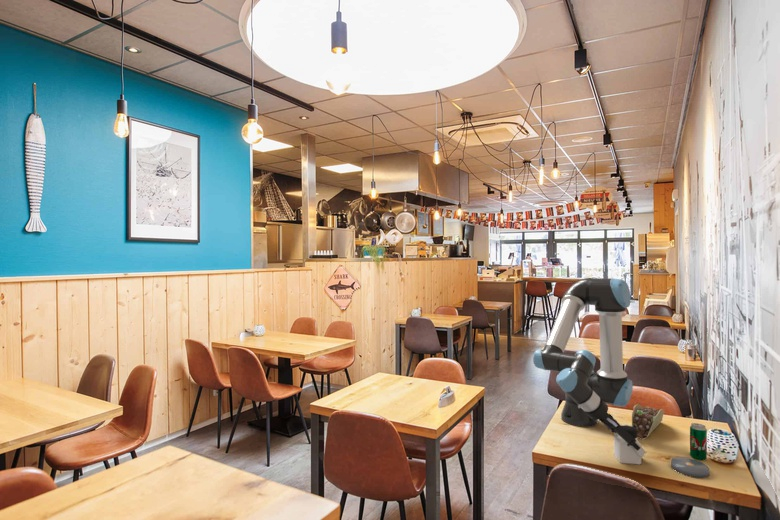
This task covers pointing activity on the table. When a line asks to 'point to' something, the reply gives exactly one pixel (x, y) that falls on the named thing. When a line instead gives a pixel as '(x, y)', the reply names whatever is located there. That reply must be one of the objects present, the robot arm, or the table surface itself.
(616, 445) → the medicine bottle
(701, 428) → the soda can
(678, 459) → the disc
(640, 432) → the taco
